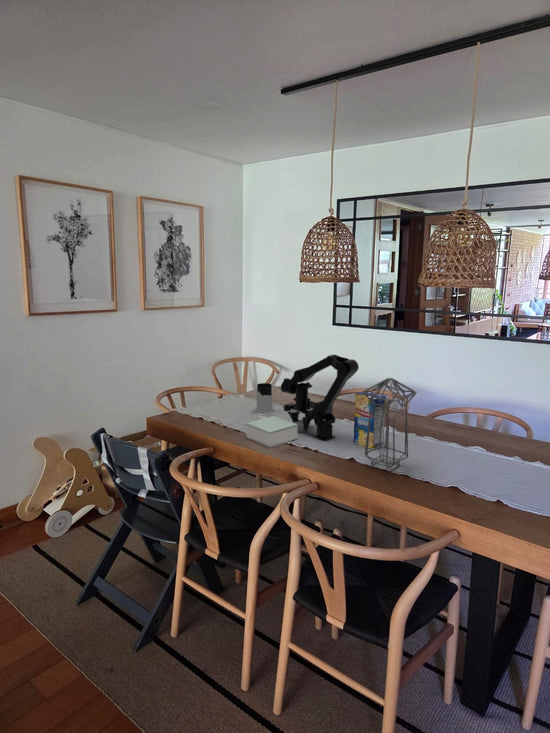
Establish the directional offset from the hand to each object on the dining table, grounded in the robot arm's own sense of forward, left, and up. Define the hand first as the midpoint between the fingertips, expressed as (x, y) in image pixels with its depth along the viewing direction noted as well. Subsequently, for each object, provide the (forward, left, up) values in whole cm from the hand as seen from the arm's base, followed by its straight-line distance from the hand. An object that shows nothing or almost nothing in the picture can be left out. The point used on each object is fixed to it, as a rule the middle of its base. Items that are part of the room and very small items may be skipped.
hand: (301, 428), depth 223 cm
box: (+1, +17, -1) cm, 17 cm away
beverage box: (-31, -10, -1) cm, 33 cm away
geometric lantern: (-50, +4, -1) cm, 50 cm away
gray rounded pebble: (0, 0, -1) cm, 1 cm away
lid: (+1, +17, +5) cm, 18 cm away
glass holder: (+31, -7, -1) cm, 32 cm away
